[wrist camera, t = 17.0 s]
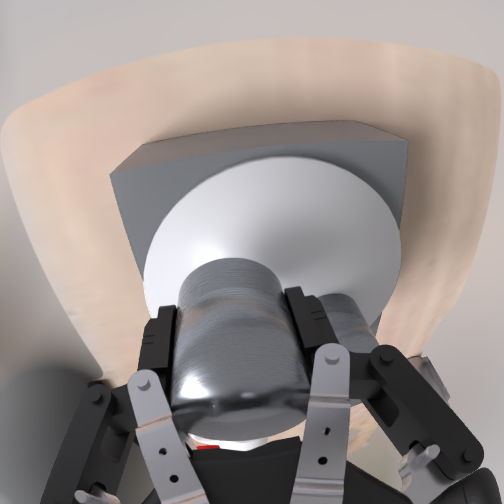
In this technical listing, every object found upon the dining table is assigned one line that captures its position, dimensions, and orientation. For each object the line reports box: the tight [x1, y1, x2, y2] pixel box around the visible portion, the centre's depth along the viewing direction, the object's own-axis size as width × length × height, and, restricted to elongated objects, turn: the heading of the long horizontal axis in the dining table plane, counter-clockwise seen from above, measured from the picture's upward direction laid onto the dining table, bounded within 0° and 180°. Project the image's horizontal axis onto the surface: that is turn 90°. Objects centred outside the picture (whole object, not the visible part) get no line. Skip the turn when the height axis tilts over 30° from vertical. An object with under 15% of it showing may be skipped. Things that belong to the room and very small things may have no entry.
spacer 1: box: [170, 258, 312, 441], centre depth 11 cm, size 5×5×6 cm
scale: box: [110, 121, 408, 336], centre depth 22 cm, size 18×18×9 cm
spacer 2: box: [317, 293, 379, 407], centre depth 18 cm, size 5×5×6 cm
